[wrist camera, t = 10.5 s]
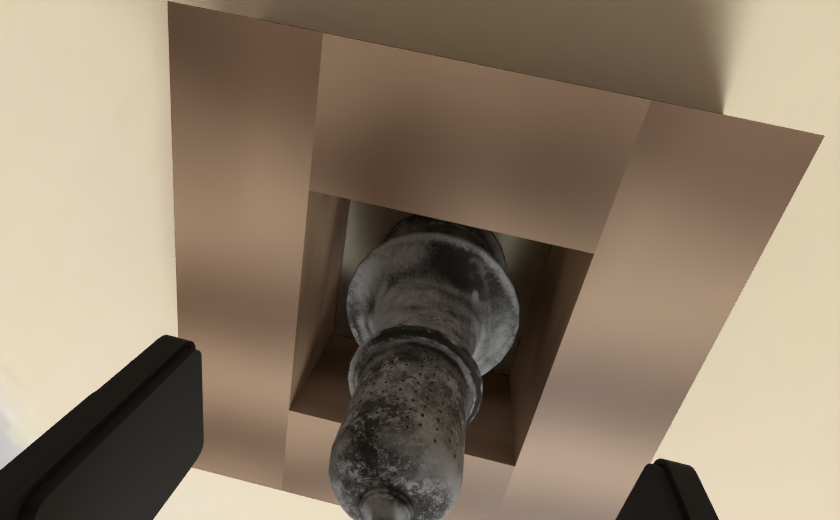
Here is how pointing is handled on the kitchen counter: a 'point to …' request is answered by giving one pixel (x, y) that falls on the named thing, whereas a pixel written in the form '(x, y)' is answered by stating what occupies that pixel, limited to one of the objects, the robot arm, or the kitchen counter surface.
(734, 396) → the kitchen counter surface
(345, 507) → the dark stone chess piece
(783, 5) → the kitchen counter surface
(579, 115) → the well block
